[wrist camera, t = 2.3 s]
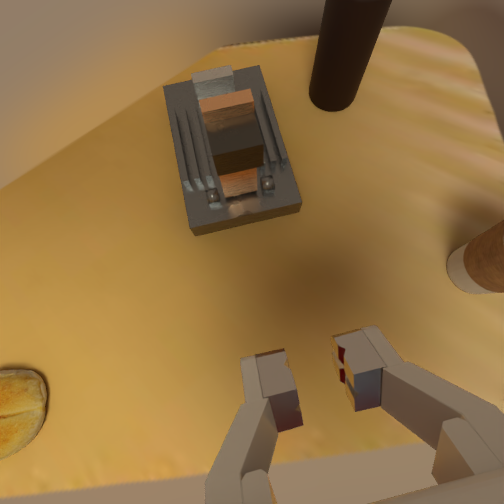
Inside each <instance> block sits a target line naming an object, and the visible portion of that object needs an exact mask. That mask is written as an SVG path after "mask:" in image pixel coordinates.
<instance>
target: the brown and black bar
mask: <svg viewBox="0 0 504 504" xmlns="http://www.w3.org/2000/svg"><path fill="white" fill-rule="evenodd" d="M199 103H200V107H201V112H202V116H203V119H204V123H205V127H206V131H207V136H208V140H209V145H210V149H211V153H212V157H213V161H214V164H215V168H216V171H217V175H218V176H219V177H220V181H221V184H222V188H223V192H224V195H225V198H228V197H232V196H237V195H241V194H245V193H250V192H254V191H257V167H262V166H264V144H263V140H262V137H261V133H260V130H259V126H258V123H257V119H256V116H255V112H254V99H253V96H252V92H251V89H246V90H241V91H237V92H232V93H228V94H223V95H219V96H214V97H210V98H205V99H201V100H199Z"/></svg>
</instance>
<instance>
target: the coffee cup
mask: <svg viewBox="0 0 504 504" xmlns="http://www.w3.org/2000/svg"><path fill="white" fill-rule="evenodd" d="M447 272H448V275H449V277H450V279H451V280H452V282H453V283H454V284H455V285H456V286H457V287H458V288H459V289H461V290H463V291H465V292H467V293H471V294H487V293H502V292H504V220H503V221H502V222H500V223H498V224H497V225H495V226H494V227H492V228H490V229H489V230H487V231H486V232H484V233H482V234H481V235H479V236H478V237H476V238H475V239H473V240H472V241H470V242H469V243H467V244H465V245H463V246H462V247H460V248H458V249H456V250H455V251H454V252H453V253H452V254H451V255H450V256H449V258H448V261H447Z"/></svg>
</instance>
